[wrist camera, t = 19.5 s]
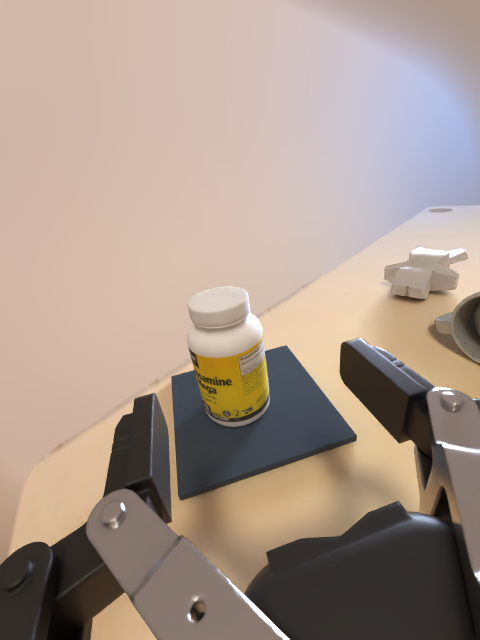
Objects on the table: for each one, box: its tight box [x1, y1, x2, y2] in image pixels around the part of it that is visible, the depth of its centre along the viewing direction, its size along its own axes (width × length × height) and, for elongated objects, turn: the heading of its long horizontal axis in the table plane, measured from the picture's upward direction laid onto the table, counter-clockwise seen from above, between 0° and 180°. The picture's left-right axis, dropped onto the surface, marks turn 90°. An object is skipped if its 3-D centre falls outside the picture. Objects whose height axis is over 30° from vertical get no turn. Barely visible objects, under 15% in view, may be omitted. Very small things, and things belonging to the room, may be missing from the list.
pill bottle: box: [187, 286, 270, 427], centre depth 24 cm, size 6×6×11 cm
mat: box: [171, 346, 357, 500], centre depth 27 cm, size 14×14×1 cm
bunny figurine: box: [384, 247, 468, 299], centre depth 43 cm, size 10×5×15 cm
